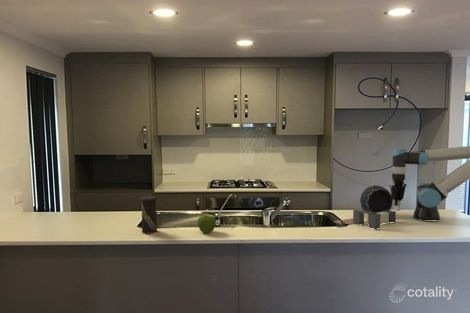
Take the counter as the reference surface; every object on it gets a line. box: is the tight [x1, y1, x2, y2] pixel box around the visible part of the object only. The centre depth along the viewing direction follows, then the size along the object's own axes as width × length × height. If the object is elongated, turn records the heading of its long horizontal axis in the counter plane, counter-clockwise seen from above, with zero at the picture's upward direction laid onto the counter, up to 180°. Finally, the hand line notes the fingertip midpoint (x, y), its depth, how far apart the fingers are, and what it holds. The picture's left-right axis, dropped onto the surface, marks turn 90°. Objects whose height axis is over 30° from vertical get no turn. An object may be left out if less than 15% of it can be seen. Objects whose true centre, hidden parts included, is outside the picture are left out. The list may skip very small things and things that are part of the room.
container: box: [140, 195, 158, 234], centre depth 206 cm, size 9×9×20 cm
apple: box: [197, 214, 217, 234], centre depth 204 cm, size 11×10×10 cm
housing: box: [352, 208, 381, 229], centre depth 216 cm, size 4×17×9 cm, turn 27°
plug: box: [367, 209, 397, 225], centre depth 222 cm, size 18×6×7 cm, turn 117°
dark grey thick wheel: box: [359, 184, 394, 213], centre depth 242 cm, size 11×20×20 cm, turn 96°
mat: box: [333, 217, 353, 225], centre depth 227 cm, size 20×9×1 cm, turn 117°
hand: (397, 210), depth 229 cm, fingers closed
